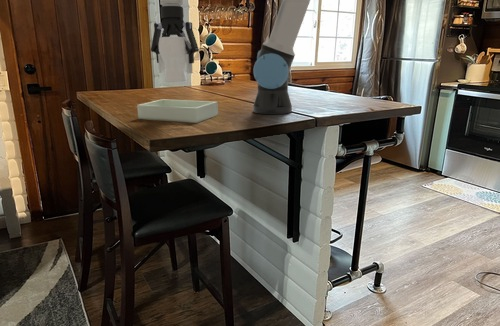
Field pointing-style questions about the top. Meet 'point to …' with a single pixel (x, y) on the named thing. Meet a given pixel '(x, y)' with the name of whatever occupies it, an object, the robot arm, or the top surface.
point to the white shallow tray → (178, 110)
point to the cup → (174, 57)
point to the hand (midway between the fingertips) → (175, 72)
